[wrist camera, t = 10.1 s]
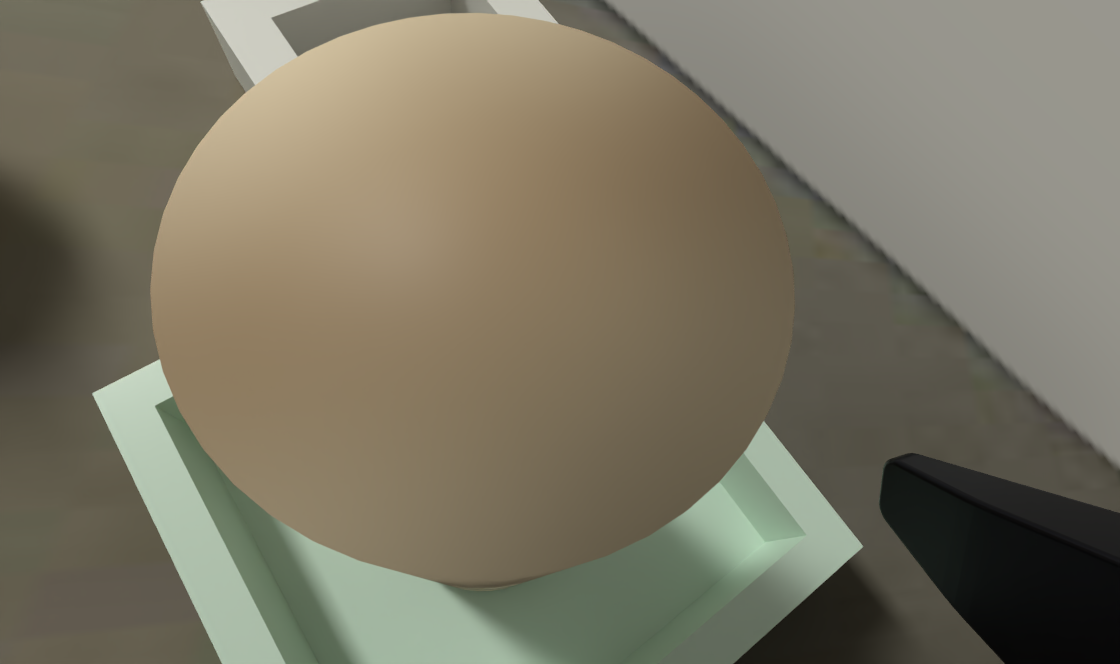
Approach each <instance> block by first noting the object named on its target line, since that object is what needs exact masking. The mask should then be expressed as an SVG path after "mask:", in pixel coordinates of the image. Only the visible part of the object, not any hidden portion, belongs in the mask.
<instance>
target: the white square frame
mask: <svg viewBox="0 0 1120 664" xmlns="http://www.w3.org/2000/svg"><path fill="white" fill-rule="evenodd" d="M201 4H202V6H203V8H204V10H205V12H206V15H207V17H208V19H209V21H210V23H211V25H212V27H213V29H214V32H215V34H216V36H217V38H218V40H219V42H220V44H221V47H222V49H223V51H224V53H225V55H226V57H227V59H228V61H229V64H230V66H231V68H232V70H233V72H234V74H235V76H236V78H237V79H238V81H239V82H240V84H241V86H242V87H243V89H244V90H245V92H247V91H248V90H250V89H251V88H252V87H254V86H255V85H256V84H258V83H259V82H260V81H262V80H263V79H264V78H266V77H267V76H268V75H270V74H271V73H272V72H273V71H275V70H276V69H278V68H280V67H281V66H283V65H285V64H286V63H288V62H290V61H291V60H293V59H295V58H297V57H298V56H300V55H302V54H303V53H305V52H307V51H309V50H311V49H313V48H315V47H318V46H320V45H322V44H324V43H327V42H329V41H331V40H333V39H336V38H338V37H340V36H343V35H346V34H349V33H352V32H355V31H358V30H361V29H364V28H367V27H370V26H373V25H378V24H382V23H387V22H391V21H396V20H401V19H405V18H410V17H419V16H427V15H436V14H448V13H487V14H501V15H514V16H520V17H525V18H531V19H537V20H543V21H548V22H552V23H556V24H558V23H557V22H556V21H555V19H554V18H553V17H552V16H551V15H550V13H549V12H548V11H547V10H546V9H545V8H544V6H543V5H542V4H541V3H540V2H539V1H538V0H204V1H201Z"/></svg>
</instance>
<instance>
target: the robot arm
mask: <svg viewBox="0 0 1120 664" xmlns="http://www.w3.org/2000/svg"><path fill="white" fill-rule="evenodd" d="M879 506H880V510H881V513H882V515H883V517H884V519H885V520H886V522H887V523H888V524H889V526H890V527H891V528H892V530H893V531H894V532H895V533H896V535H897V536H898V537H899V539H900V540H901V541H902V542H903V544H904V545H905V546H906V548H907V549H908V550H909V551H910V553H911V554H912V555H913V557H914V558H915V559H916V560H917V562H918V563H919V564H920V566H921V567H922V568H923V569H924V571H925V572H926V573H927V575H928V576H929V577H930V579H931V580H932V581H933V582H934V584H935V585H936V586H937V588H938V589H939V590H940V591H941V593H942V594H943V595H944V596H945V598H946V599H947V600H948V601H949V603H950V604H951V605H952V606H953V607H954V609H955V610H956V611H957V612H958V613H959V614H960V615H961V616H962V618H963V619H964V620H965V621H966V622H967V623H968V624H969V625H970V626H971V627H972V629H973V630H974V631H975V632H976V633H977V634H978V635H979V636H980V637H981V638H982V639H983V640H984V642H985V643H986V644H987V645H988V646H989V647H990V648H991V649H992V650H993V651H994V652H995V653H996V655H997V656H998V657H999V658H1000V659H1001V660H1002V661H1003V662H1004V663H1005V664H1120V513H1118V512H1114V511H1111V510H1107V509H1104V508H1101V507H1097V506H1094V505H1090V504H1087V503H1083V502H1080V501H1077V500H1073V499H1070V498H1066V497H1063V496H1059V495H1056V494H1053V493H1049V492H1046V491H1042V490H1039V489H1035V488H1032V487H1029V486H1025V485H1022V484H1018V483H1015V482H1012V481H1008V480H1005V479H1001V478H998V477H994V476H991V475H988V474H984V473H981V472H977V471H974V470H971V469H967V468H964V467H960V466H957V465H953V464H950V463H947V462H943V461H940V460H936V459H933V458H929V457H926V456H923V455H919V454H915V453H909V454H905V455H901V456H898V457H895V458H892V459H889V460H888V461H887V462H886V463H885V465H884V468H883V474H882V482H881V490H880V498H879Z"/></svg>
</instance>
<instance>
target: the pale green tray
mask: <svg viewBox="0 0 1120 664" xmlns="http://www.w3.org/2000/svg"><path fill="white" fill-rule="evenodd" d="M92 394H93V396H94V398H95V400H96V402H97V405H98V407H99V409H100V411H101V413H102V415H103V417H104V419H105V421H106V423H107V425H108V427H109V429H110V432H111V434H112V436H113V438H114V440H115V442H116V444H117V446H118V448H119V450H120V452H121V454H122V456H123V459H124V461H125V463H126V465H127V467H128V469H129V471H130V473H131V475H132V477H133V479H134V481H135V484H136V486H137V488H138V490H139V492H140V494H141V496H142V498H143V500H144V502H145V504H146V506H147V508H148V511H149V513H150V515H151V517H152V519H153V521H154V523H155V525H156V527H157V529H158V531H159V533H160V535H161V538H162V540H163V542H164V544H165V546H166V548H167V550H168V552H169V554H170V556H171V558H172V560H173V562H174V565H175V567H176V569H177V571H178V573H179V575H180V577H181V579H182V581H183V583H184V585H185V587H186V590H187V592H188V594H189V596H190V598H191V600H192V602H193V604H194V606H195V608H196V610H197V612H198V614H199V617H200V619H201V621H202V623H203V625H204V627H205V629H206V631H207V633H208V635H209V637H210V639H211V641H212V644H213V646H214V648H215V650H216V652H217V654H218V656H219V658H220V660H221V662H222V664H733V663H735V662H736V661H737V660H738V659H739V658H740V657H741V656H742V655H743V654H745V653H746V652H747V651H748V650H749V649H750V648H751V647H752V646H753V645H755V644H756V643H757V642H758V641H759V640H760V639H761V638H762V637H763V636H765V635H766V634H767V633H768V632H769V631H770V630H771V629H772V628H773V627H775V626H776V625H777V624H778V623H779V622H780V621H781V620H782V619H783V618H785V617H786V616H787V615H788V614H789V613H790V612H791V611H792V610H793V609H795V608H796V607H797V606H798V605H799V604H800V603H801V602H802V601H803V600H805V599H806V598H807V597H808V596H809V595H810V594H811V593H812V592H813V591H814V590H816V589H817V588H818V587H819V586H820V585H821V584H822V583H823V582H824V581H826V580H827V579H828V578H829V577H830V576H831V575H832V574H833V573H834V572H836V571H837V570H838V569H839V568H840V567H841V566H842V565H843V564H844V563H846V562H847V561H848V560H849V559H850V558H851V557H852V556H853V555H854V554H856V553H857V552H858V551H859V550H860V549H861V548H862V547H863V546H862V544H861V543H860V542H859V541H858V539H857V538H856V537H855V536H854V534H853V533H852V532H851V531H850V529H849V528H848V527H847V525H846V524H845V523H844V522H843V520H842V519H841V518H840V517H839V515H838V514H837V513H836V512H835V510H834V509H833V508H832V507H831V505H830V504H829V503H828V501H827V500H826V499H825V498H824V496H823V495H822V494H821V493H820V491H819V490H818V489H817V488H816V486H815V485H814V484H813V483H812V481H811V480H810V479H809V478H808V476H807V475H806V474H805V472H804V471H803V470H802V469H801V467H800V466H799V465H798V464H797V462H796V461H795V460H794V459H793V457H792V456H791V455H790V454H789V452H788V451H787V450H786V448H785V447H784V446H783V445H782V443H781V442H780V441H779V440H778V438H777V437H776V436H775V435H774V433H773V432H772V431H771V430H770V428H769V427H768V426H767V424H766V423H765V422H764V421H763V423H762V424H761V426H760V428H759V429H758V431H757V433H756V434H755V436H754V438H753V439H752V441H751V443H750V444H749V446H748V448H747V449H746V450H745V452H744V453H743V454H742V455H741V456H740V458H739V459H738V460H737V461H736V462H735V464H734V465H733V466H732V467H731V469H730V470H729V471H728V472H727V473H726V475H725V476H724V477H723V478H722V479H721V481H720V482H719V483H717V484H716V485H715V486H714V487H713V488H712V489H711V490H710V491H709V492H707V493H706V494H705V495H704V496H703V497H702V498H701V499H700V500H699V501H697V502H696V503H695V504H694V505H693V506H692V507H691V508H690V509H689V510H687V511H686V512H684V513H683V514H681V515H680V516H678V517H677V518H675V519H674V520H672V521H671V522H669V523H668V524H666V525H665V526H663V527H662V528H660V529H659V530H657V531H656V532H654V533H653V534H651V535H650V536H648V537H646V538H644V539H641V540H639V541H637V542H635V543H633V544H631V545H629V546H627V547H625V548H623V549H620V550H618V551H616V552H614V553H612V554H610V555H608V556H605V557H602V558H599V559H596V560H593V561H590V562H586V563H583V564H580V565H577V566H574V567H571V568H568V569H565V570H561V571H558V572H555V573H552V574H549V575H546V576H543V577H540V578H536V579H533V580H530V581H527V582H524V583H521V584H518V585H515V586H511V587H508V588H505V589H500V590H494V591H471V590H464V589H460V588H456V587H452V586H449V585H445V584H442V583H438V582H434V581H431V580H427V579H423V578H420V577H416V576H412V575H409V574H405V573H401V572H398V571H394V570H391V569H387V568H383V567H380V566H376V565H372V564H369V563H365V562H361V561H358V560H356V559H354V558H351V557H349V556H347V555H344V554H342V553H340V552H337V551H335V550H332V549H330V548H328V547H325V546H323V545H321V544H318V543H316V542H314V541H312V540H310V539H308V538H307V537H305V536H304V535H302V534H300V533H299V532H297V531H295V530H294V529H292V528H290V527H289V526H287V525H285V524H284V523H282V522H281V521H279V520H277V519H276V518H274V517H272V516H271V515H270V514H268V513H267V512H266V511H265V510H264V509H262V508H261V507H260V506H259V505H258V504H256V503H255V502H254V501H253V500H252V499H250V498H249V497H248V496H247V495H246V494H245V493H243V492H242V491H241V490H240V489H239V488H237V487H236V486H235V485H234V484H233V483H232V482H231V481H230V480H229V478H228V477H227V476H226V475H225V474H224V473H223V471H222V470H221V469H220V468H219V467H218V466H217V465H216V463H215V462H214V461H213V460H212V459H211V458H210V457H209V455H208V454H207V453H206V452H205V451H204V450H203V448H202V447H201V445H200V443H199V442H198V440H197V439H196V437H195V435H194V434H193V432H192V431H191V429H190V427H189V426H188V424H187V423H186V421H185V419H184V418H183V416H182V415H181V413H180V411H179V409H178V407H177V404H176V402H175V399H174V397H173V395H172V392H171V390H170V387H169V385H168V383H167V380H166V378H165V375H164V373H163V370H162V366H161V362H160V360H158V361H156V362H154V363H152V364H150V365H148V366H146V367H144V368H142V369H140V370H138V371H136V372H134V373H132V374H130V375H128V376H126V377H124V378H122V379H120V380H118V381H116V382H114V383H112V384H110V385H108V386H106V387H104V388H102V389H100V390H98V391H96V392H94V393H92Z"/></svg>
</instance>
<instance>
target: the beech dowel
mask: <svg viewBox="0 0 1120 664" xmlns="http://www.w3.org/2000/svg"><path fill="white" fill-rule="evenodd" d="M150 292H151V307H152V321H153V332H154V336H155V340H156V345H157V349H158V353H159V357H160V362H161V366H162V370H163V373H164V375H165V378H166V380H167V383H168V385H169V387H170V390H171V392H172V395H173V397H174V399H175V402H176V404H177V407H178V409H179V411H180V413H181V415H182V416H183V418H184V419H185V421H186V423H187V424H188V426H189V427H190V429H191V431H192V432H193V434H194V435H195V437H196V439H197V440H198V442H199V443H200V445H201V447H202V448H203V450H204V451H205V452H206V453H207V454H208V455H209V457H210V458H211V459H212V460H213V461H214V462H215V463H216V465H217V466H218V467H219V468H220V469H221V470H222V471H223V473H224V474H225V475H226V476H227V477H228V478H229V480H230V481H231V482H232V483H233V484H234V485H235V486H236V487H237V488H239V489H240V490H241V491H242V492H243V493H245V494H246V495H247V496H248V497H249V498H250V499H252V500H253V501H254V502H255V503H256V504H258V505H259V506H260V507H261V508H262V509H264V510H265V511H266V512H267V513H268V514H270V515H271V516H272V517H274V518H276V519H277V520H279V521H281V522H282V523H284V524H285V525H287V526H289V527H290V528H292V529H294V530H295V531H297V532H299V533H300V534H302V535H304V536H305V537H307V538H308V539H310V540H312V541H314V542H316V543H318V544H321V545H323V546H325V547H328V548H330V549H332V550H335V551H337V552H340V553H342V554H344V555H347V556H349V557H351V558H354V559H356V560H358V561H361V562H365V563H369V564H372V565H376V566H380V567H383V568H387V569H391V570H394V571H398V572H401V573H405V574H409V575H412V576H416V577H420V578H423V579H427V580H431V581H434V582H438V583H442V584H445V585H449V586H452V587H456V588H460V589H464V590H471V591H494V590H500V589H505V588H508V587H511V586H515V585H518V584H521V583H524V582H527V581H530V580H533V579H536V578H540V577H543V576H546V575H549V574H552V573H555V572H558V571H561V570H565V569H568V568H571V567H574V566H577V565H580V564H583V563H586V562H590V561H593V560H596V559H599V558H602V557H605V556H608V555H610V554H612V553H614V552H616V551H618V550H620V549H623V548H625V547H627V546H629V545H631V544H633V543H635V542H637V541H639V540H641V539H644V538H646V537H648V536H650V535H651V534H653V533H654V532H656V531H657V530H659V529H660V528H662V527H663V526H665V525H666V524H668V523H669V522H671V521H672V520H674V519H675V518H677V517H678V516H680V515H681V514H683V513H684V512H686V511H687V510H689V509H690V508H691V507H692V506H693V505H694V504H695V503H696V502H697V501H699V500H700V499H701V498H702V497H703V496H704V495H705V494H706V493H707V492H709V491H710V490H711V489H712V488H713V487H714V486H715V485H716V484H717V483H719V482H720V481H721V479H722V478H723V477H724V476H725V475H726V473H727V472H728V471H729V470H730V469H731V467H732V466H733V465H734V464H735V462H736V461H737V460H738V459H739V458H740V456H741V455H742V454H743V453H744V452H745V450H746V449H747V448H748V446H749V444H750V443H751V441H752V439H753V438H754V436H755V434H756V433H757V431H758V429H759V428H760V426H761V424H762V423H763V421H764V419H765V418H766V416H767V414H768V412H769V410H770V407H771V405H772V403H773V400H774V398H775V395H776V393H777V390H778V388H779V386H780V383H781V381H782V378H783V374H784V370H785V366H786V362H787V358H788V354H789V350H790V346H791V342H792V332H793V322H794V312H795V295H794V273H793V266H792V261H791V255H790V250H789V245H788V239H787V235H786V232H785V229H784V226H783V223H782V220H781V217H780V214H779V211H778V208H777V205H776V203H775V201H774V198H773V196H772V194H771V192H770V190H769V188H768V186H767V184H766V182H765V180H764V178H763V175H762V173H761V172H760V170H759V169H758V167H757V166H756V164H755V163H754V161H753V159H752V158H751V156H750V155H749V153H748V152H747V150H746V149H745V147H744V145H743V144H742V143H741V142H740V141H739V139H738V138H737V137H736V136H735V134H734V133H733V132H732V131H731V130H730V128H729V127H728V126H727V125H726V123H725V122H724V121H723V120H722V119H721V118H720V117H719V116H718V115H717V114H716V113H715V112H714V111H713V110H712V109H711V108H710V107H709V106H708V105H707V104H706V103H705V102H704V101H703V100H702V99H701V98H700V97H699V96H697V95H696V94H695V93H694V92H692V91H691V90H690V89H688V88H687V87H686V86H685V85H683V84H682V83H681V82H680V81H678V80H677V79H676V78H674V77H673V76H672V75H670V74H669V73H667V72H666V71H664V70H662V69H661V68H659V67H658V66H656V65H654V64H653V63H651V62H650V61H648V60H646V59H645V58H643V57H641V56H639V55H637V54H635V53H633V52H631V51H629V50H627V49H625V48H623V47H621V46H619V45H617V44H615V43H613V42H610V41H608V40H605V39H602V38H600V37H597V36H594V35H592V34H589V33H587V32H584V31H581V30H578V29H574V28H570V27H567V26H563V25H559V24H556V23H552V22H548V21H543V20H537V19H531V18H525V17H520V16H514V15H501V14H487V13H448V14H436V15H427V16H419V17H410V18H405V19H401V20H396V21H391V22H387V23H382V24H378V25H373V26H370V27H367V28H364V29H361V30H358V31H355V32H352V33H349V34H346V35H343V36H340V37H338V38H336V39H333V40H331V41H329V42H327V43H324V44H322V45H320V46H318V47H315V48H313V49H311V50H309V51H307V52H305V53H303V54H302V55H300V56H298V57H297V58H295V59H293V60H291V61H290V62H288V63H286V64H285V65H283V66H281V67H280V68H278V69H276V70H275V71H273V72H272V73H271V74H270V75H268V76H267V77H266V78H264V79H263V80H262V81H260V82H259V83H258V84H256V85H255V86H254V87H252V88H251V89H250V90H248V91H247V92H246V93H245V94H244V95H243V96H242V97H241V98H240V99H239V100H238V101H237V102H236V103H235V104H234V105H232V106H231V107H230V108H229V109H228V110H227V111H226V112H225V113H224V114H223V115H222V116H221V117H220V118H219V120H218V121H217V122H216V123H215V125H214V126H213V127H212V128H211V130H210V131H209V132H208V133H207V135H206V136H205V137H204V138H203V140H202V141H201V142H200V143H199V145H198V146H197V147H196V149H195V151H194V152H193V154H192V156H191V157H190V159H189V161H188V162H187V164H186V166H185V167H184V169H183V171H182V172H181V174H180V176H179V177H178V180H177V182H176V184H175V187H174V189H173V192H172V194H171V196H170V199H169V201H168V203H167V206H166V208H165V211H164V213H163V217H162V221H161V225H160V229H159V233H158V237H157V241H156V245H155V249H154V256H153V267H152V277H151V288H150Z"/></svg>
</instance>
